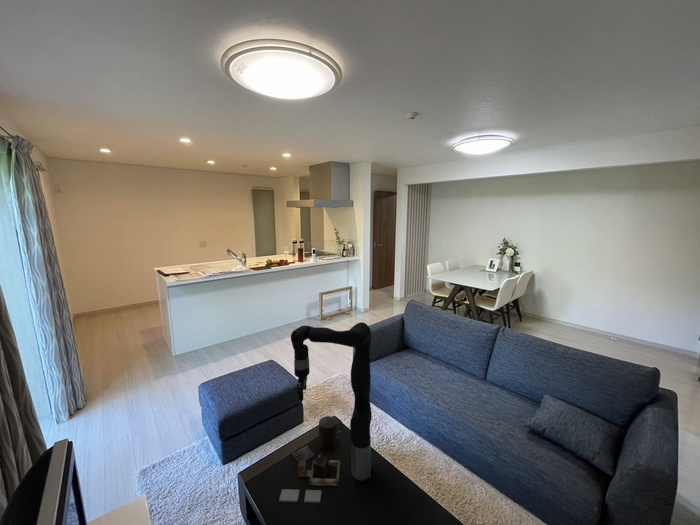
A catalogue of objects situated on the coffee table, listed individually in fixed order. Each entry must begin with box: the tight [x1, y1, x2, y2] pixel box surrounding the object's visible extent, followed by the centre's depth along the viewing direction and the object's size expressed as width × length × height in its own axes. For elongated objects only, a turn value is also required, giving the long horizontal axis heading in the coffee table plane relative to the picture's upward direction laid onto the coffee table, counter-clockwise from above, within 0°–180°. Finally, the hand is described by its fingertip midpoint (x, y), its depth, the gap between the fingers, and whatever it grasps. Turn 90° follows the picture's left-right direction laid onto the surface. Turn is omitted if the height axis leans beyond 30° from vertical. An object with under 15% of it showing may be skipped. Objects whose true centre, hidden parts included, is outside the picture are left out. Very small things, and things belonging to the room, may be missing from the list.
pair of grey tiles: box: [278, 488, 322, 504], centre depth 128 cm, size 18×5×1 cm, turn 88°
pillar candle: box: [318, 415, 338, 452], centre depth 156 cm, size 10×10×15 cm
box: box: [312, 454, 330, 479], centre depth 139 cm, size 6×6×7 cm
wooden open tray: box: [298, 459, 341, 487], centre depth 138 cm, size 20×11×6 cm, turn 88°
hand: (302, 394), depth 147 cm, fingers open, 8 cm apart
